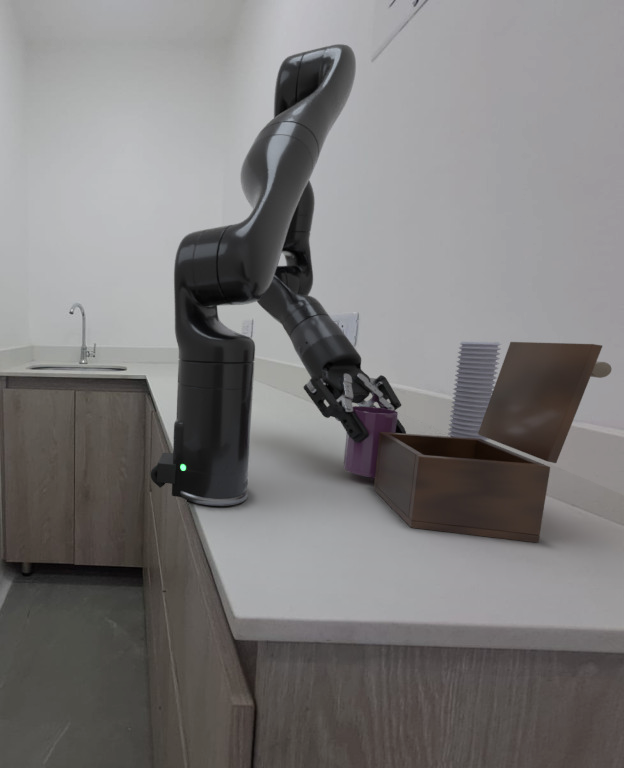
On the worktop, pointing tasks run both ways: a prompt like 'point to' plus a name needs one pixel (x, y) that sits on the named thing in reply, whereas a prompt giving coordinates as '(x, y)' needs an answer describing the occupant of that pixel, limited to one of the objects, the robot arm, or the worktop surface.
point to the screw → (473, 387)
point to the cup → (368, 439)
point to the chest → (461, 485)
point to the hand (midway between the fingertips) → (381, 438)
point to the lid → (540, 395)
